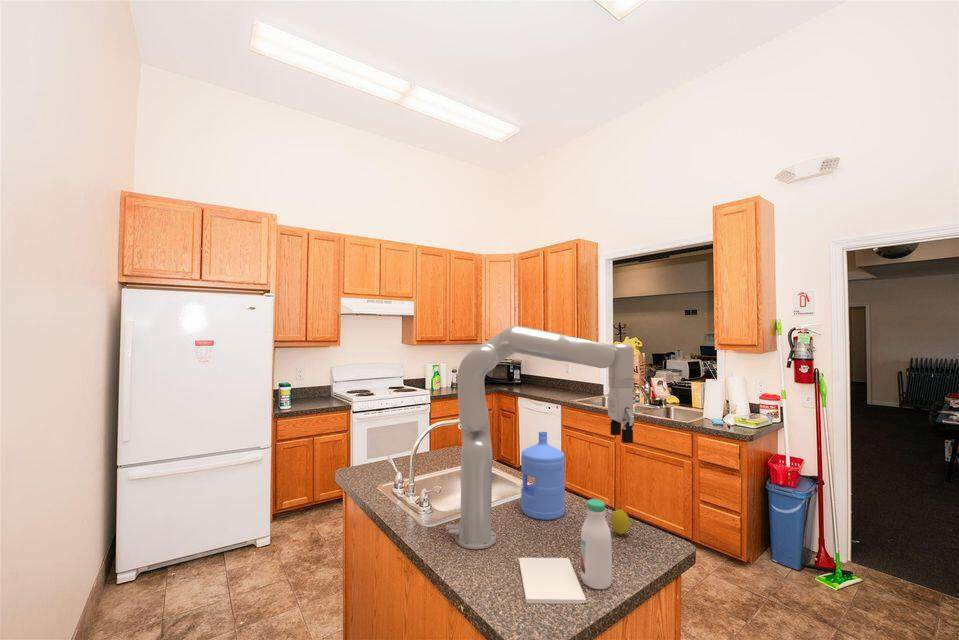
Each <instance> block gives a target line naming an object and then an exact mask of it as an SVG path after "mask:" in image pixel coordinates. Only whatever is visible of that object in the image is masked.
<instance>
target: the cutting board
mask: <svg viewBox="0 0 959 640" xmlns="http://www.w3.org/2000/svg"><path fill="white" fill-rule="evenodd" d="M518 565H519V571H520V577H521V583H522V586H523V587H522V588H523V591H524V593H523V594H524V600H525V604H529V605H530V604H534V605H535V604H538V605H539V604H540V605H541V604H544V605H546V604H547V605H548V604H549V605H551V604H552V605H555V604H556V605H585V604H584V603H586V604H587V599H586V598H587V597H586V596H585V594H584V592H583V589H582V587H581V585H580V581H579V580H578V577H577V575H576V573H575V570H574V568H573V565H572V562H571V560H570V558H569V557H518ZM582 603H583V604H582Z"/></svg>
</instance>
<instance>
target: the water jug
mask: <svg viewBox="0 0 959 640" xmlns="http://www.w3.org/2000/svg"><path fill="white" fill-rule="evenodd" d="M520 462H521V469H520V470H521V472H522V487H521V490H520V491H521V492H520V493H521V498H520V500H521V501H520V510H521V512H522V513H523V514H524V515H526V516H527V517H529V518H533V519H536V520H540V519H541V521H552V520H556V519H558V518H561V517H562V516H564V514H565V511H566V508H565V507H566V506H565V490H566V489H565V488H566V485H565V466H566V459H565V453H564V452H563V451H562V450H560V449H558V448H556V447H554V446H552V445H550V444H548V432H547V431H538V443H536V444H534V445H532V446H531V445H530V446H529V447H527V448H524V449H522V451H521V457H520ZM528 477H532V478H534V483H532V484H530V483H529V484H528Z"/></svg>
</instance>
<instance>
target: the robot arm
mask: <svg viewBox="0 0 959 640" xmlns="http://www.w3.org/2000/svg"><path fill="white" fill-rule="evenodd" d="M634 350H635V348H634V346H633V345H632V344H629V343H628V344H626V343H613V344H608V343H603V342H598V341H593V340H588V339H585V338H584V339H583V338H578V337H573V336H569V335H565V334H562V333H557V332H553V331H546V330H542V329H538V328H531V327H526V326H521V325H512V326H511V325H510V326H508V327H506V328H505V329H503V330H502V331H501V332H499V333H497V334H496V335H494V336H493V337H491V338H490V339H488V340H486V341H484V342H483V343H480V344H479V345H477V346H476V347H474V348H473V349H471V351H469V352H468V353H467V354H466V355H465V356H464V358H462V360H461V362H460V364H459V366H458V369H457V374H456V375H457V376H456V377H457V378H456V379H457V382H456V384H457V399H458V401H457V402H458V420H459V423H460V428H461V429H460V430H461V440H462V443H461V449H460V450H461V451H460V520H459V523H456V524H451V523H447V524H445V531H446V532H449V535H454V538H455V542H456V544H457V545H458V546H459V547H462V548H465V549H469V550H484V549H487V548H489V547H492V546H493V545H494V544H495V543H496V541H497V534H496V532H495V531H493V530H492V499H493V498H492V493H493V492H492V489H493V488H492V486H493V485H492V481H493V480H492V479H493V476H492V475H493V445H492V440H491V429H490V417H489V408H488V406H487V400H486V389H485V388H486V387H485V386H486V385H485V378H486V375H488V373H489V372H490V371H492V370H494V369H495V367H497V365H498V364H499V363H501V362H502V361H504V360H506V359H508V358H510V357H511V356H513V355H514V354H515V353H517V354H519V355H520V354H521V355H526V356H531V357H535V358H541V359H545V360H550V361H551V360H552V361H557V362H566V363H567V362H568V363H573V364H577V365H584V366H587V367H591V368H598V369H606V368H607V369H608V389H609V391H608V401H607V416H608V417H609V418H610V419H609V420H610V421H609V422H610V424H609V425H610V435H611V436H621V442H622V444H633V443H634V425H635V423H634V422H635V416H634V395H633V390H634V389H635V369H634V368H635V353H634V352H635V351H634Z"/></svg>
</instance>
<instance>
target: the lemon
mask: <svg viewBox="0 0 959 640" xmlns="http://www.w3.org/2000/svg"><path fill="white" fill-rule="evenodd" d="M610 523H611V528H612V529H613V531H615V533H617V534H618V535H619V536H621V535H623V534H626V533H627V532H628V531H629V528H630V518H629V516H628V513H627V512H626V511H625V510H622V509H621V508H619V509H616V510H614V511H613V512H612V514H611V518H610Z"/></svg>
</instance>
